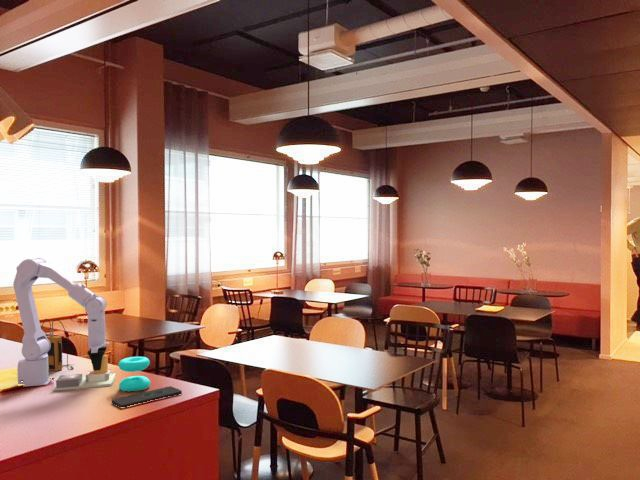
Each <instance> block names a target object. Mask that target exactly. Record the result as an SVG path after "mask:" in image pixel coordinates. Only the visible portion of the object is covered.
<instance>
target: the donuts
mask: <svg viewBox="0 0 640 480" xmlns="http://www.w3.org/2000/svg"><path fill="white" fill-rule="evenodd" d="M150 364H151V362H150V359H149V358H148V357H146V356H129V357H125V358H123V359H120V361H119V362H118V368H119V369H120V370H121V371H123V372H127V373H132V372H139V371H143V370H146V369H147V368H148V367H149V365H150ZM150 385H151V380H150V379H149V378H148V377H147V376H145V375H134V376H133V375H132V376H128V377H124V378H123V379H122V380H120V382H119V384H118V388H119V390H121V391H122V392H125V391H128V392H127V393H130V392H129V391H136V392H140V391H139V390H141V391H143V390H144V391H145V390H146V389H148V388H149V387H150Z"/></svg>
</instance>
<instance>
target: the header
mask: <svg viewBox="0 0 640 480" xmlns="http://www.w3.org/2000/svg"><path fill="white" fill-rule="evenodd" d="M111 374H112V370H111V369H109V368H108V372H106V373H102V374H93V370H89V371H87V373H86V374H85V376H86V382H88V381H100V380H109V378H110V376H111Z"/></svg>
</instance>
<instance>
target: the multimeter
mask: <svg viewBox="0 0 640 480" xmlns="http://www.w3.org/2000/svg"><path fill="white" fill-rule="evenodd" d="M45 321H48V322H49V335H46V337H47V339H48V340H49V341H50V344H51V347H50V350H49V351H48V352H47V354H48V368H49V371H55V372H58V371H62V370H63V367H66V368H67V370H68V371H70V370H71V371H72V370H73V369H74V366H73V365H75V363H70V364H69V363H68V362H69V350H67V355H66V364H63V342H62V341H63V339H62V336H61V335H54V334H55V333H54V322H55V321H56V319H53V321H52V323H51V322H50V320H49V319H47V318H45V319H44V320H43V322H42V324H41V329H42V330H43V326H44V323H45ZM57 321H58V322H59V323H60V324H61V325H62V328H63V330H64V333H65V338H66V342H67V345H69V340H68V334H67V331H66V328H65V327H64V324H63V322H62V321H61V320H60V319H57ZM69 366H70V368H69Z"/></svg>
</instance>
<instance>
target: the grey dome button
mask: <svg viewBox="0 0 640 480" xmlns="http://www.w3.org/2000/svg"><path fill="white" fill-rule="evenodd" d="M82 376H83V373H76V374H75V373H74V374H65V375H64V374H63V375H59V377H58V378H57V379H56V380H55V384H56V385H55V387H56V388H65V387H76V386H79V385H80V384H81V382H82Z"/></svg>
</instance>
